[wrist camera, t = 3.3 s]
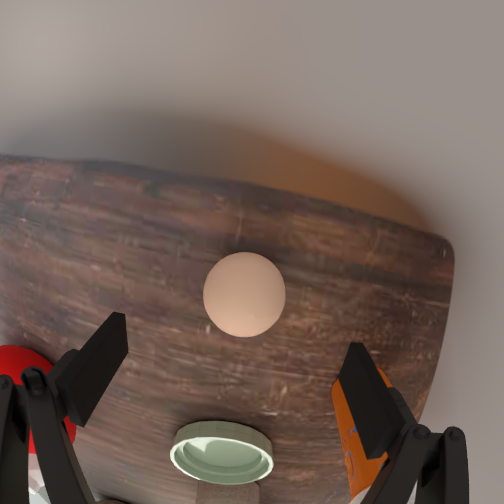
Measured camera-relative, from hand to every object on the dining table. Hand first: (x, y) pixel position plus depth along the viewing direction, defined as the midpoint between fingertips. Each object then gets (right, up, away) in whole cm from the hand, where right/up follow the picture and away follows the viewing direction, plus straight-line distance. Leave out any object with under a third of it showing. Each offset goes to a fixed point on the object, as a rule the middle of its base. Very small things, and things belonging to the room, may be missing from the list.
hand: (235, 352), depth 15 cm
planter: (-3, -36, +23) cm, 43 cm away
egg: (0, +3, +12) cm, 12 cm away
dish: (-3, -23, +19) cm, 29 cm away
